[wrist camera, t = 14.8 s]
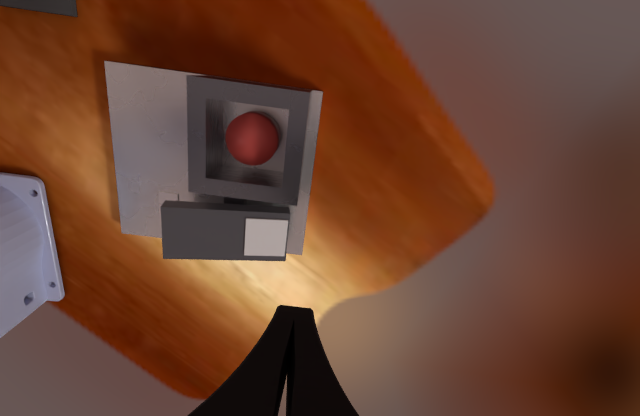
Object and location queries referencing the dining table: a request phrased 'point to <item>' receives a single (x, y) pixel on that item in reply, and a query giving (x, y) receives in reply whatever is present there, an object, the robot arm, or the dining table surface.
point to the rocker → (224, 231)
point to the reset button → (253, 137)
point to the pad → (44, 6)
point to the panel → (205, 144)
